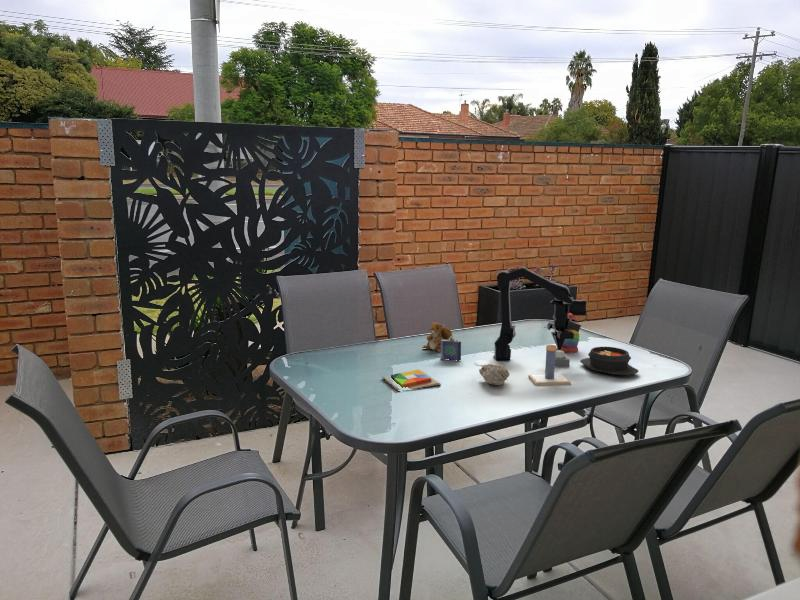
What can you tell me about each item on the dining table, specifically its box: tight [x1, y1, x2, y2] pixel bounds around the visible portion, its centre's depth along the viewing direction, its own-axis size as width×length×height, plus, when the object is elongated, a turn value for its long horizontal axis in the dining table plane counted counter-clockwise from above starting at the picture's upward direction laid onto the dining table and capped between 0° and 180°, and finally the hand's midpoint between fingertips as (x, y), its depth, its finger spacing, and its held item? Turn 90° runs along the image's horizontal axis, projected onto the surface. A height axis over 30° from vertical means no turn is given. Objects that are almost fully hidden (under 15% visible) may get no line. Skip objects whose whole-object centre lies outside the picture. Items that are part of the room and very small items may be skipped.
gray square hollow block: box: [555, 354, 571, 367], centre depth 260 cm, size 7×7×3 cm
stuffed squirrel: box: [421, 321, 453, 353], centre depth 283 cm, size 10×14×13 cm
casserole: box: [579, 346, 639, 376], centre depth 251 cm, size 25×19×8 cm
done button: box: [555, 350, 565, 359], centre depth 259 cm, size 4×4×4 cm
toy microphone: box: [544, 344, 557, 379], centre depth 236 cm, size 4×4×13 cm
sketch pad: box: [528, 373, 572, 386], centre depth 238 cm, size 14×10×1 cm
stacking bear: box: [556, 312, 580, 354], centre depth 280 cm, size 11×10×18 cm
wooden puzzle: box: [381, 368, 442, 391], centre depth 236 cm, size 18×19×4 cm
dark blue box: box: [440, 335, 462, 362], centre depth 265 cm, size 9×3×11 cm, turn 71°
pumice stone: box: [478, 363, 510, 386], centre depth 233 cm, size 14×12×8 cm
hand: (559, 349), depth 259 cm, fingers closed
